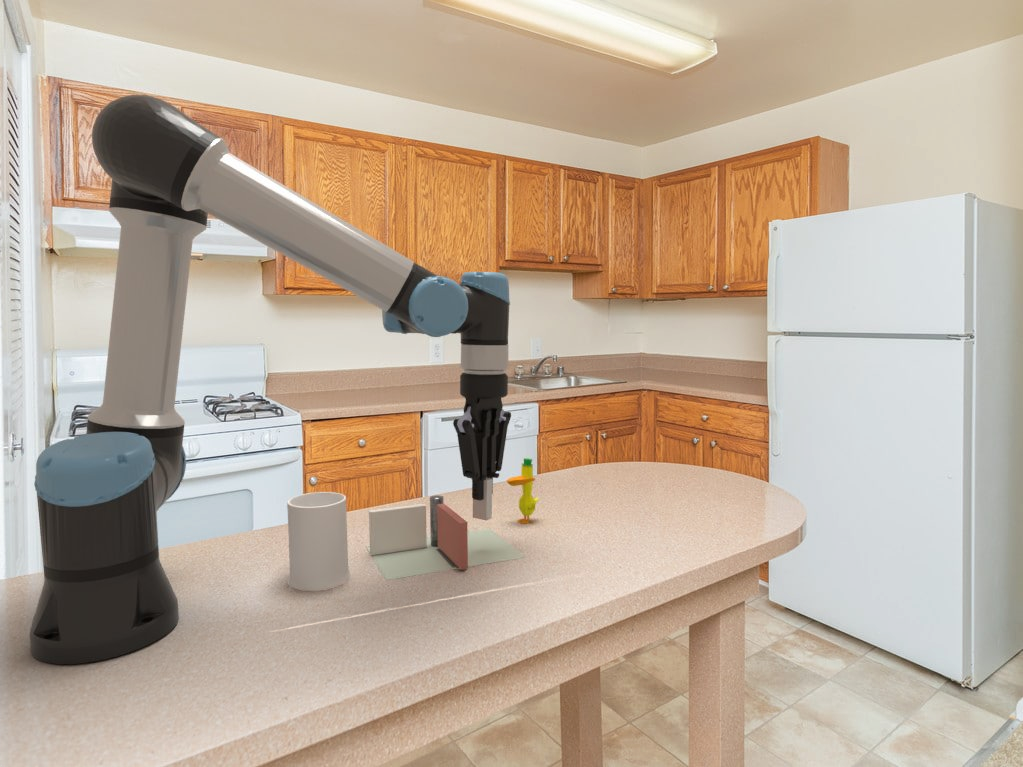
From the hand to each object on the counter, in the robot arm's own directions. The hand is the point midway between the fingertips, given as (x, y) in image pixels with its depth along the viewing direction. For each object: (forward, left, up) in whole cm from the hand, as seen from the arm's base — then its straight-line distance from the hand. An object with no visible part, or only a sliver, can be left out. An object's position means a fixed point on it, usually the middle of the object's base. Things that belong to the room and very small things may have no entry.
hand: (482, 517), depth 104 cm
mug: (-26, 0, -6) cm, 27 cm away
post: (-6, +5, -5) cm, 10 cm away
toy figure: (+12, +10, -6) cm, 17 cm away
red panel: (-6, -2, -5) cm, 8 cm away
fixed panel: (-12, +5, -5) cm, 14 cm away
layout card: (-6, +2, -6) cm, 8 cm away
